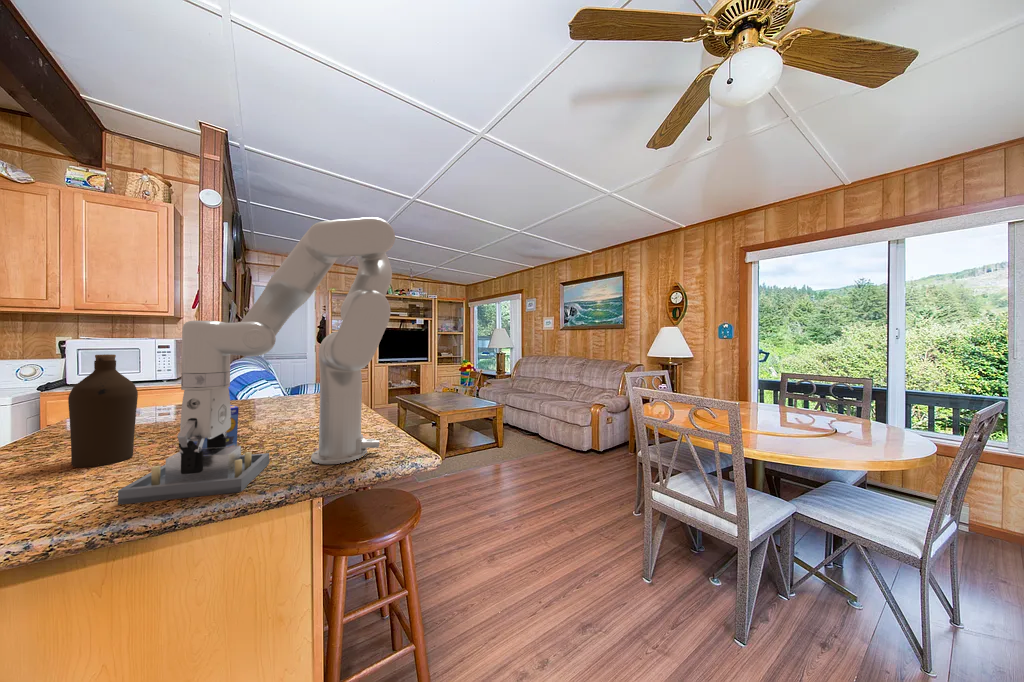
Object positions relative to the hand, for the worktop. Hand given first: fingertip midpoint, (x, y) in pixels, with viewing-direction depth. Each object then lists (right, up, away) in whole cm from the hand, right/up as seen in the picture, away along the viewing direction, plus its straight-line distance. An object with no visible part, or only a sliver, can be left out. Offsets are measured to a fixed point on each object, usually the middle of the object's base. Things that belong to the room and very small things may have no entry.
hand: (204, 464), depth 71 cm
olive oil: (-33, -3, +11) cm, 35 cm away
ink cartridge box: (-11, -4, +14) cm, 18 cm away
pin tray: (0, -4, 0) cm, 4 cm away
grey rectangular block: (0, -3, 0) cm, 3 cm away
